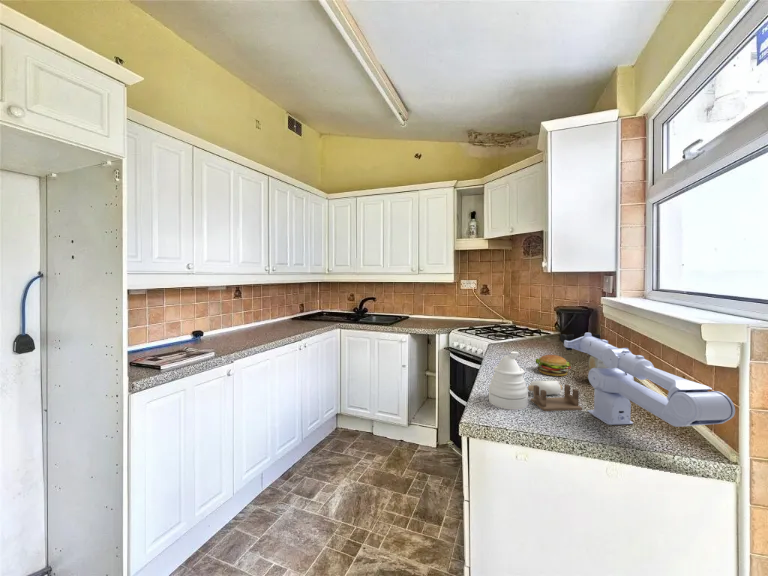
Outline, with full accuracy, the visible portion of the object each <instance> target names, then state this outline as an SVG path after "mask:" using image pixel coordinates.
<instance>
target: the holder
mask: <svg viewBox="0 0 768 576" xmlns="http://www.w3.org/2000/svg"><path fill="white" fill-rule="evenodd" d="M571 391H572V394H571ZM563 393H564V394H563V395H564V397H562V396H561V397H559V396H558V397H547V395H546V391H545V390H541V391H540V395H539V386H537V385H534V395H533V397H530V400H529V401H530V402H532V404H534V405H536V406H537V408H540V409H541V410H542V411H543V412H555V411H556V412H559V411H560V412H566V411H583V407H582V406H581V405H579V404H580V403H579V400H580V399H579V398H580V396H579V395H580V394H579V393H580V390H578V389H576V388H572V390H571V385H569V384H564V392H563Z"/></svg>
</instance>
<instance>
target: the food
mask: <svg viewBox="0 0 768 576" xmlns="http://www.w3.org/2000/svg"><path fill="white" fill-rule="evenodd" d="M535 364H537V367H536V368H537V369H538V372H539V373H541V374H544V375H545V376H546V375H547V376H553V377H565V376H567V375H568V372H569V369H570V370H571V365H572V364H571V363H570V362H569V361H567V359H565V358H564V357H563V356H560V355H557V354H545V355H542V356H541V357H539V358H535Z"/></svg>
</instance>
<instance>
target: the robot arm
mask: <svg viewBox="0 0 768 576" xmlns="http://www.w3.org/2000/svg"><path fill="white" fill-rule="evenodd" d="M559 340H560V341H561V342H562V343H563V346H564V349H565V350H566V351H572V350H576V351H578V352H582V353H583V354H584V353H585V354H587V355H588V356H589V355H591V356H593V357H595V358H597V359H599V360H601V361H603V363H604V365H605V366H607V367H608V368H592V369H590V371H589V373H588V372H587V379H588V381H589V384H590V385H591V387H592V388H594V397H593V398H594V401H593V409H587V410H586V411H587V413H589V414H590V415H592V416H594V417H595V418H597V419H598V420H600V421H601V422H603V423H605V424H606V425H609V426H610V425H633V424H634V422H633V421H632V420H631V413H632V412H631V411H632V410H631V409H632V403H634V404H636V405H637V406H638V407H641V408H642V409H644V410H645V411H647V412H649V413H651V414H652V415H654V416H656V417H657V418H660V419H661V420H662V421H664V422H666V423H668V424H669V425H671V426H673V427H675V428H676V427H677V428H678V427H694V426H695V427H696V426H706V425H719V424H720V425H722V424H725V423H726V422H728V421H729V420H731V419H733V418H734V416H735V415H736V407H735V404H734V402H733V400H732V399H731V398H730V397H729V396H728V395H727V394H725V393H724V392H722V391H718V390H713V388H712V387H711V386H708V385H705V384H702V383H700V382H699V383H698V382H696V381H693V380H689V379H686V378H683V377H681V376H678V375H675V374H673V373H669V372H667V371H665V370H662V369H659V368H656V367H655V366H654V364H653V363H652V362H651V361H650V360H648V359H646V358H645V356H644V355H642V354H641V355H640V354H637V355H636V354H633V353H632V351H631V350H630V349H629V347H621V348H619V347H617V346H614V345H613V344H610V343H609V340H606V339H601V334H599V333H597V334H596V333H593V334H592V333H591V332H585V333H580V335H579V337H577V338H575V334H559ZM635 378H636V379H637V380H641V381H644V380H649V381H651V382H652V383H654V384H655V385H658V386H659V387H661V388H662V389H665V390H666V391H668V392H667V397H666V396H664V395H662V394H660V393H659V392H656V391H654V390H653V389H651V388H649V387H647V386H645V385H644V384H643V385H642V384H641V383H639V382H637V381H635ZM709 390H711V391H709Z"/></svg>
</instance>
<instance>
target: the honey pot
mask: <svg viewBox="0 0 768 576" xmlns="http://www.w3.org/2000/svg"><path fill="white" fill-rule="evenodd" d="M518 356H519V352H518V351H510V354H509V355H505V356H503V357H502V358H501V360H500V361H499V363H498V364H497V365H496V366H495V367H493V369H494V374H493V375H492V376H491V378H492V379H491V380H490V384H489V385H488V387H489V388H488V402H489V403H490V404H492V405H493V406H494V405H495V406H494V407H497V408H500V407H501V408H500V409H503V408H504V409H505V410H509V409H510V410H511V411H514V410H515V411H517V410H524V409H526V408H527V407H528V405H529V390H528V386H527V384H526V379H525V378H524V374H525V369H523V368H522V367H520V366H519V364H518V362H517V361H516V358H518ZM510 410H509V411H510Z"/></svg>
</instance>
